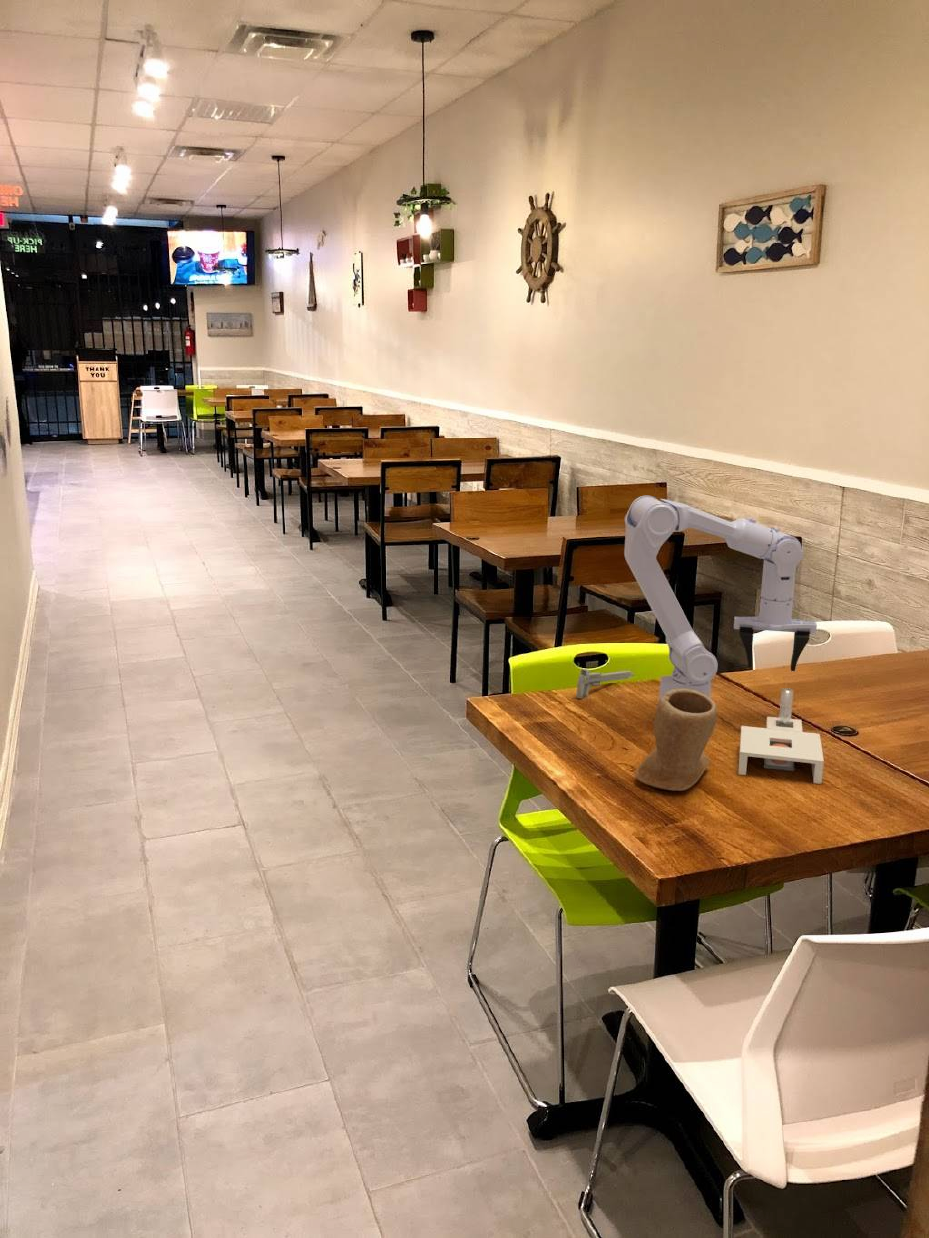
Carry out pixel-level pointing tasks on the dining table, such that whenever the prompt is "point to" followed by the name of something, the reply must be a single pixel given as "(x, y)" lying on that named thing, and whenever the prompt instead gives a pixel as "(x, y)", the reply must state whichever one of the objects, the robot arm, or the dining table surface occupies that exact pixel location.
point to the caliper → (597, 680)
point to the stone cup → (679, 740)
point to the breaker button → (779, 762)
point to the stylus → (785, 707)
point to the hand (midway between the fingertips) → (771, 667)
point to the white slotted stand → (781, 748)
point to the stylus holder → (794, 726)
